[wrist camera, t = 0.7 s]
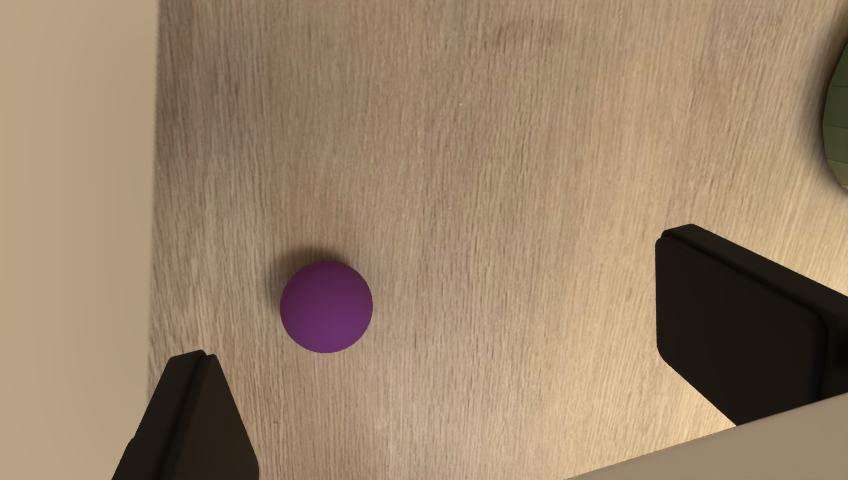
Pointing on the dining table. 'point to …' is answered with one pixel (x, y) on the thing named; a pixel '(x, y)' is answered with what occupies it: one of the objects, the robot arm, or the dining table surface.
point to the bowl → (837, 122)
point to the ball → (326, 307)
